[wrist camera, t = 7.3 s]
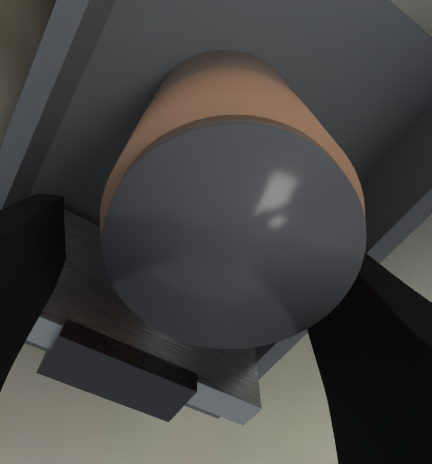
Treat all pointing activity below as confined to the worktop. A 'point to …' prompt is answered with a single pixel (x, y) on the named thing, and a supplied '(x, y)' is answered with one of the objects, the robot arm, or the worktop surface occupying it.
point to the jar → (231, 209)
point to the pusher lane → (238, 39)
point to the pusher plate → (132, 345)
